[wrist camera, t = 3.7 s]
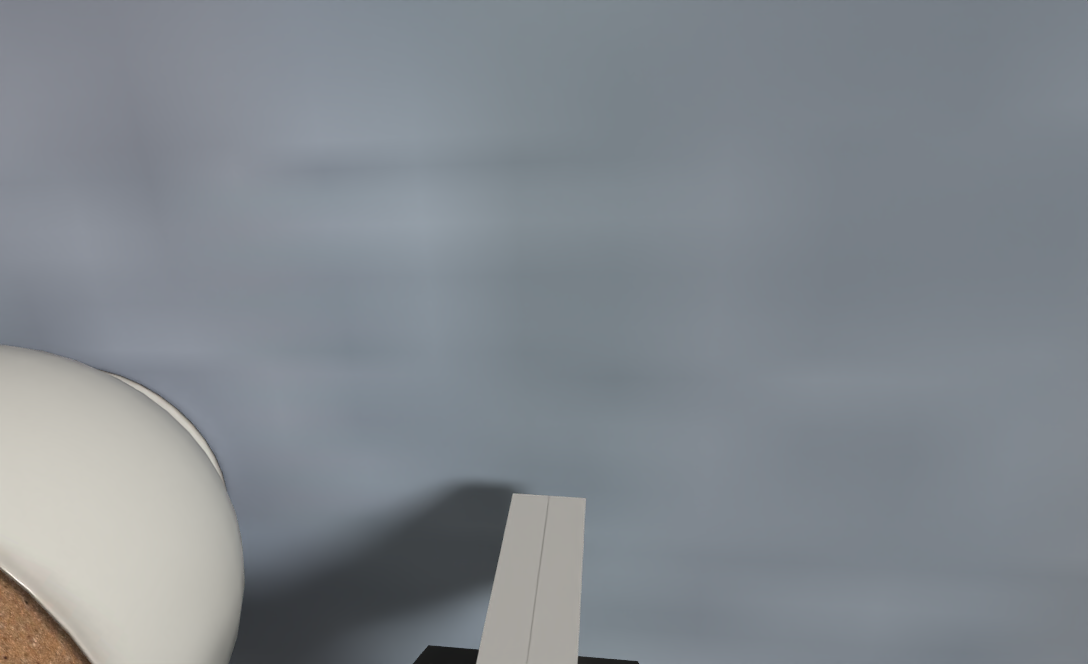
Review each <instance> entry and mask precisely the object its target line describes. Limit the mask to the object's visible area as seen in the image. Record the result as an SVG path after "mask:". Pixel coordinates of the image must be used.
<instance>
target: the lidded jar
mask: <svg viewBox="0 0 1088 664" xmlns="http://www.w3.org/2000/svg"><path fill="white" fill-rule="evenodd" d="M244 585H245V577H244V561H243V548H242V538H241V533H240V529H239V525H238V521H237V517H236V513H235V510H234V507H233V505H232V503H231V500H230V498H229V496H228V493H227V489H226V485H225V481H224V477H223V473H222V471H221V468H220V466H219V463H218V461H217V459H216V456H215V455H214V453H213V451H212V450H211V448H210V446H209V445H208V443H207V441H206V440H205V438H204V437H203V436H202V435H201V433H200V432H199V431H198V430H197V428H196V427H195V426H194V425H193V423H192V422H190V421H189V420H188V419H187V418H186V417H185V416H184V415H183V414H182V413H181V412H180V411H179V410H178V409H177V408H176V407H174V406H173V405H172V404H170V403H169V402H168V401H167V400H165V399H164V398H163V397H161V396H160V395H158V394H157V393H155V392H153V391H151V390H150V389H148V388H146V387H145V386H143V385H141V384H139V383H137V382H134V381H132V380H130V379H127V378H125V377H123V376H120V375H117V374H113V373H110V372H106V371H103V370H98V369H95V368H93V367H90V366H88V365H86V364H83V363H81V362H78V361H76V360H73V359H69V358H66V357H62V356H59V355H55V354H52V353H48V352H45V351H40V350H33V349H27V348H20V347H14V346H7V345H0V664H229V661H230V658H231V655H232V652H233V649H234V646H235V643H236V640H237V636H238V628H239V621H240V614H241V607H242V600H243V593H244Z"/></svg>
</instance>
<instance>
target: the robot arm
mask: <svg viewBox="0 0 1088 664" xmlns="http://www.w3.org/2000/svg"><path fill="white" fill-rule="evenodd" d="M585 503H586V498H574V497H559V496H544V495H530V494H515V493H513V495H512V500H511V505H510V509H509V514H508V519H507V523H506V528H505V532H504V537H503V542H502V546H501V551H500V556H499V560H498V565H497V570H496V574H495V579H494V583H493V588H492V593H491V597H490V602H489V607H488V611H487V616H486V620H485V625H484V630H483V634H482V639H481V644H480V648H479V650H477V649H465V648H453V647H441V646H430V645H428V646H427V648H426V649H425V650H424V651H423V652H422V654H421V655H420V656H419V657H418V658H417V660H416V661H415V662H414V663H413V664H639V663H638V661H628V660H617V659H605V658H593V657H581V656H578V643H579V623H580V603H581V583H582V563H583V543H584V523H585Z"/></svg>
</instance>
